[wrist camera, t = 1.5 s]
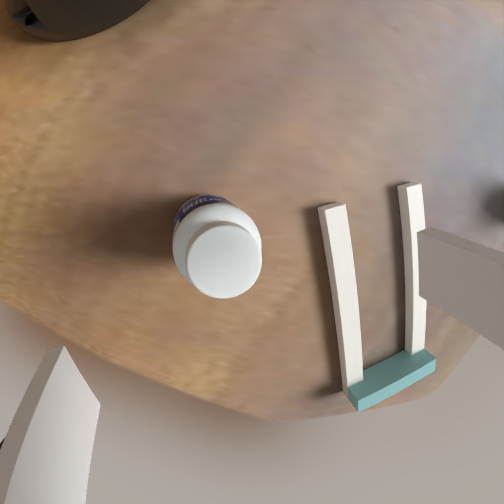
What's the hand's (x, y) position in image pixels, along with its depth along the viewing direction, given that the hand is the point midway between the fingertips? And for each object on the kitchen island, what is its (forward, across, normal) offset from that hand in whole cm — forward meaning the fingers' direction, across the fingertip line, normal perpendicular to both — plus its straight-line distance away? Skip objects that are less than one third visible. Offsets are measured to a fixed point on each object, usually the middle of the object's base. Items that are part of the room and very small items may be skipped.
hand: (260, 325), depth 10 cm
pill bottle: (+17, 0, 0) cm, 17 cm away
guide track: (+16, +15, -12) cm, 25 cm away
